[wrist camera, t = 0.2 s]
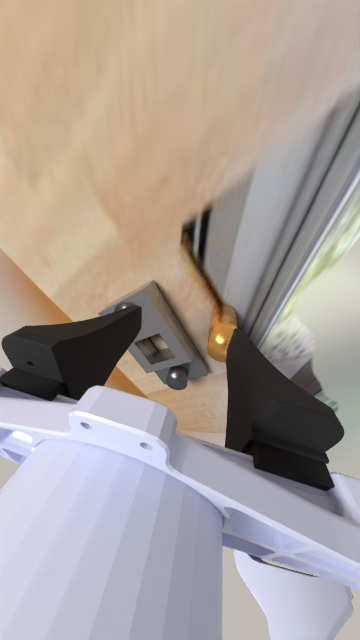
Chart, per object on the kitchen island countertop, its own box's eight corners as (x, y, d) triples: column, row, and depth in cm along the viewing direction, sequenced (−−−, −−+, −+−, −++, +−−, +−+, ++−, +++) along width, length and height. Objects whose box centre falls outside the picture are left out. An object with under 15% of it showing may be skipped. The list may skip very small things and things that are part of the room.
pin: (239, 320, 21) (245, 357, 15) (217, 327, 23) (215, 365, 17) (230, 300, 20) (233, 333, 14) (207, 309, 22) (201, 342, 16)
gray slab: (207, 368, 27) (205, 386, 24) (167, 377, 30) (161, 394, 27) (153, 280, 21) (142, 289, 18) (110, 303, 24) (95, 315, 22)
